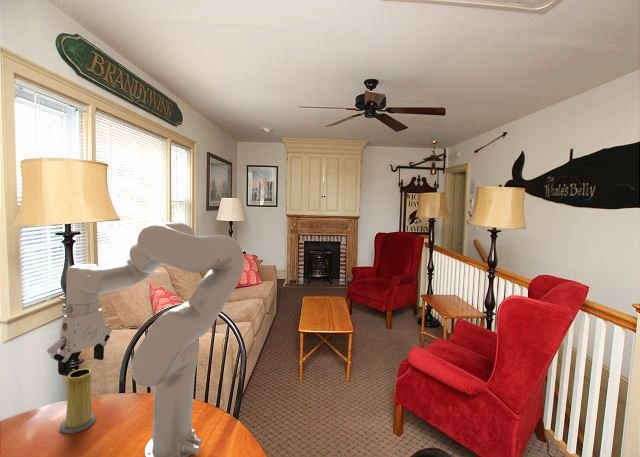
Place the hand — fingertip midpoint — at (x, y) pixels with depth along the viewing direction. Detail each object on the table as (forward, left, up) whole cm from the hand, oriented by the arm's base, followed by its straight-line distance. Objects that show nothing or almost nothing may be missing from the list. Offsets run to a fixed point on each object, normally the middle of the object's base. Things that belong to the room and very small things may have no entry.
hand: (82, 366), depth 88 cm
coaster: (+1, 0, -17) cm, 17 cm away
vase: (0, 0, -16) cm, 16 cm away
